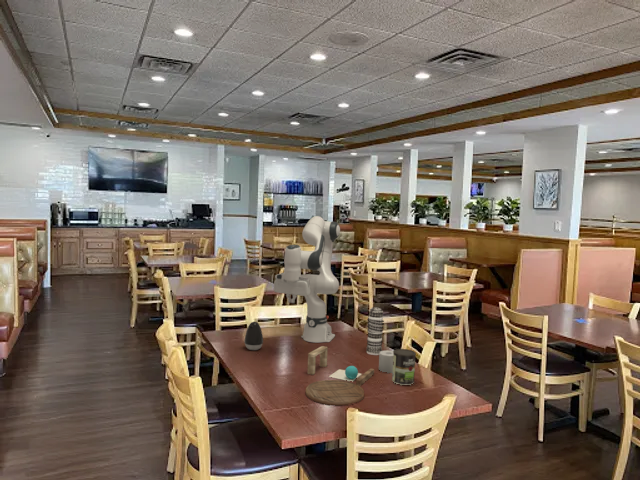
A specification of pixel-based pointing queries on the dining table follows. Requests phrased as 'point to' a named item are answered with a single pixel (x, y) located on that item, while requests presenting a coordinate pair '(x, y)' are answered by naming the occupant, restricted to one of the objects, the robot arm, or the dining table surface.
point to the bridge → (312, 358)
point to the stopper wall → (364, 377)
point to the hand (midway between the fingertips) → (291, 302)
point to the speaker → (253, 336)
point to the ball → (351, 372)
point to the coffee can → (403, 366)
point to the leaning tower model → (375, 331)
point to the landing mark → (342, 375)
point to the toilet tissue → (386, 361)
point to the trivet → (334, 392)
